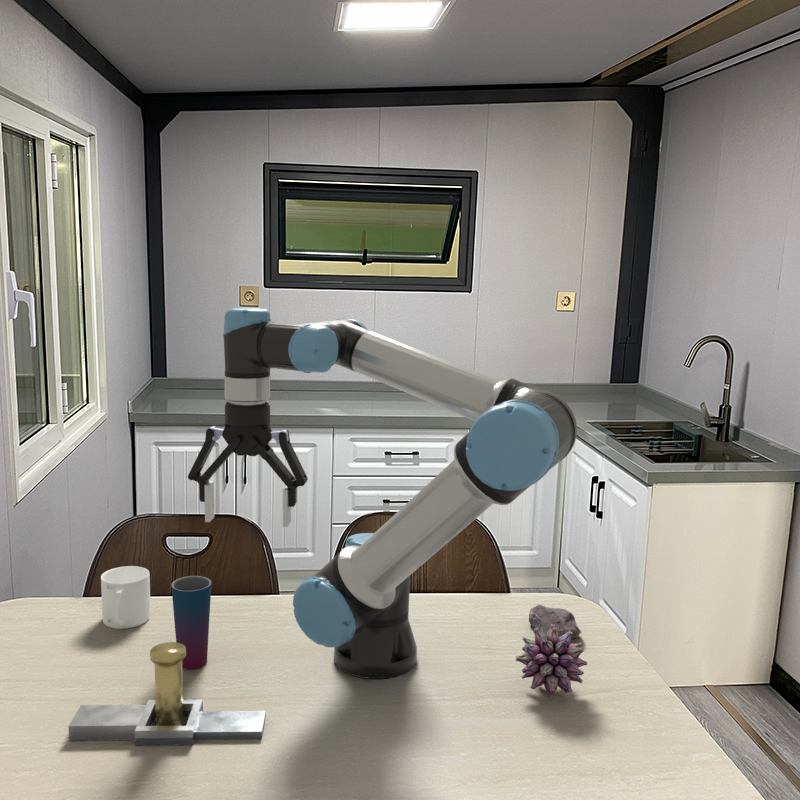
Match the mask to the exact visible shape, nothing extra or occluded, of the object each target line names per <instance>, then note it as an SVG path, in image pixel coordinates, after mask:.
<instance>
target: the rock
mask: <svg viewBox="0 0 800 800" xmlns="http://www.w3.org/2000/svg"><path fill="white" fill-rule="evenodd" d="M528 622H529V625H530V626H532V628H534V629H535V628H538V629H539V630H540V631H541V632H542V633H544V634H545V635H546V636H547V633H548V631H549V630H550V627H551V624H552V625H555V628H557V633H558V637H561V636H563V635H564V634H566V633H567V632H569V631H570V632H572V633H573V634H572V636H571V640H572V639H576V638H579V636H580V635H581V633H582V631H581V629H580V628H579V626H578V624H577V622H576V619H575V616H574V614H573V612H571V611H569V610H567V609H564V608H561V607H560V608H559V607H557V608H555V607H547V606H544V605H541V604H536V605H535V606H534V607H532V608H530V609H529V613H528Z"/></svg>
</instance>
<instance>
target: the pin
mask: <svg viewBox="0 0 800 800" xmlns="http://www.w3.org/2000/svg"><path fill="white" fill-rule="evenodd" d="M185 657H186V647H185V645H183V644H181V643H177V642H176V641H168V642H162V643H159V644H156V645H155V646H153V647H152V648H151V649H150V651H149V660H150V661H151V662H152V663H153V664H154V694H155V695H154V698H155V699H154V700H155V705H156V718H155V726H184V718H183V700H184V697H183V696H184V693H183V692H184V691H183V689H184V688H183V687H184V686H183V684H184V682H183V668H182V660H183V659H184V658H185Z"/></svg>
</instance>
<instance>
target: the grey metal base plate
mask: <svg viewBox="0 0 800 800" xmlns="http://www.w3.org/2000/svg"><path fill="white" fill-rule="evenodd" d="M266 717H267V716H266V710H210V711H209V710H207V711H206V710H204V700H203V698H201V699H200V698H199V699H198V698H197V699H183V719H184V718H186V719H188V720H187V722H186V725H183V726H156V725H153V724H154V722H155V720H156V705H155V699H148V701H147V703H146V704H80V706H79V708H78V709H77V711H76V713H75V714H74V716H73V718H72V720H71V721H70V723H69V725H68V726H67V727H68V741H69V742H76V741H80V742H81V741H83V742H85V741H87V742H90V741H92V742H93V741H94V742H95V741H134V742H135V744H134V746H136V747H139V746H141V747H142V746H144V747H145V746H193V745H194V742H195V740H256V739H257V740H262V739H263V734H264V730H265V729H264V728H265V723H266Z"/></svg>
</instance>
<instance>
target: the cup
mask: <svg viewBox="0 0 800 800" xmlns="http://www.w3.org/2000/svg"><path fill="white" fill-rule="evenodd" d="M170 586H171V595H172V596H171V598H172V609H173V610H172V611H173V621H174V631H175V642H177V643H181V644H183V645H185V647H186V657H185V658H184V659H183V660H182V670H189V671H190V670H197V669H200V668H202V667H204V666H206V665H207V663H208V654H209V653H208V648H209V633H210V631H209V630H210V614H211V613H210V612H211V600H212V599H211V595H212V580H211V579H210V578H208V577H206V576H201V575H189V576H182V577H179V578H177V579H175V580H173V581H172V582H171V585H170Z"/></svg>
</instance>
